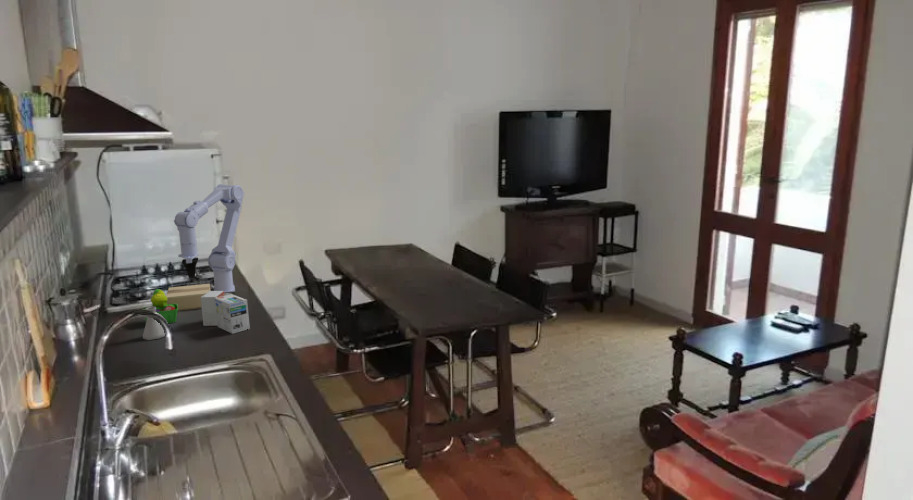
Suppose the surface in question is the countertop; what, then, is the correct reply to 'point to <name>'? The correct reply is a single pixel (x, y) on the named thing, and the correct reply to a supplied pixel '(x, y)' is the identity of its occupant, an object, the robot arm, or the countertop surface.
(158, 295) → the fruit basket
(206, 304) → the small box
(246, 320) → the light bulb box
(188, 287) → the cardboard lid
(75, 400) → the countertop surface
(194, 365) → the countertop surface
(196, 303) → the cardboard box
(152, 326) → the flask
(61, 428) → the countertop surface
